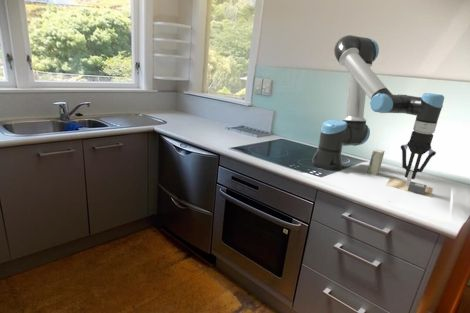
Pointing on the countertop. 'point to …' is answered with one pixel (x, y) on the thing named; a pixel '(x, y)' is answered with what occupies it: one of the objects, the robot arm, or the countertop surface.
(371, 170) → the box
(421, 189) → the gray block
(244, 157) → the countertop surface
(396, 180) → the board
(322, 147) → the robot arm
